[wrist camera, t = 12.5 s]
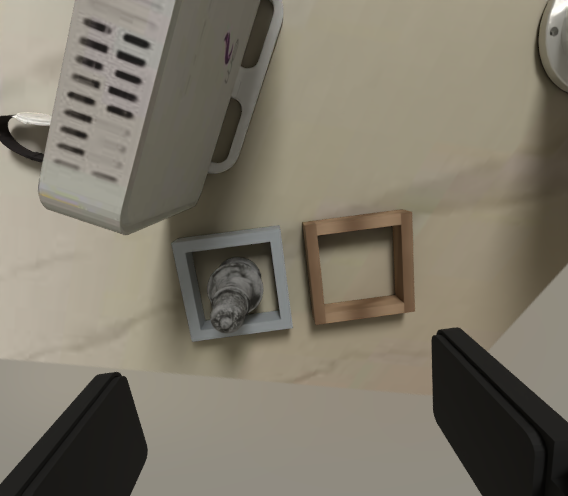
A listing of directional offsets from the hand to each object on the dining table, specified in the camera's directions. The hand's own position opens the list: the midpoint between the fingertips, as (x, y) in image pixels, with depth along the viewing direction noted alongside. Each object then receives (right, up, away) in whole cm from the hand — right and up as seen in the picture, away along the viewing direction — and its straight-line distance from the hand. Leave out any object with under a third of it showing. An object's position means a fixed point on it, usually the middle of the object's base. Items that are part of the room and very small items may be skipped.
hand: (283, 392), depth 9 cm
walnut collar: (+8, +2, +27) cm, 29 cm away
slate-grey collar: (-5, +1, +27) cm, 28 cm away
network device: (-7, +22, +22) cm, 32 cm away
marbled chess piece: (-5, +1, +27) cm, 28 cm away
